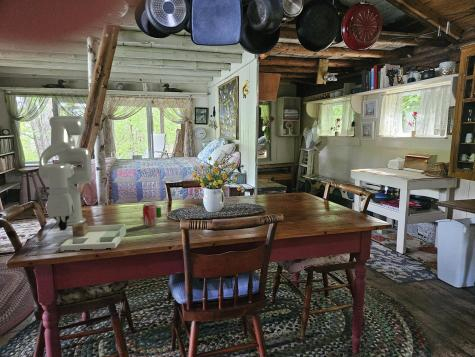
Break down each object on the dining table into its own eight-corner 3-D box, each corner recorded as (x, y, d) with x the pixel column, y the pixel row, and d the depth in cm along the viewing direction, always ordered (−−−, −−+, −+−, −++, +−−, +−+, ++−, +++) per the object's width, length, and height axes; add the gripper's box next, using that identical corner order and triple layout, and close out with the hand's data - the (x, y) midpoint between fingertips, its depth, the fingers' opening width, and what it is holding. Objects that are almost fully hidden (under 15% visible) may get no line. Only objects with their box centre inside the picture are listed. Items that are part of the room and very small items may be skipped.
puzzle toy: (158, 214, 188) (158, 205, 187) (161, 217, 183) (160, 207, 182) (149, 216, 185) (148, 206, 184) (151, 218, 180) (150, 208, 179)
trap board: (60, 251, 133) (59, 240, 132) (78, 236, 151) (77, 226, 150) (115, 248, 135) (114, 237, 134) (126, 233, 154) (125, 224, 153)
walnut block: (73, 236, 143) (72, 226, 142) (77, 233, 148) (76, 223, 147) (84, 236, 144) (83, 226, 143) (88, 232, 149) (87, 222, 148)
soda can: (145, 223, 170) (143, 202, 168) (158, 222, 171) (156, 202, 169) (142, 227, 163) (140, 205, 161) (155, 226, 164) (154, 205, 162)
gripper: (37, 193, 137) (42, 233, 139) (72, 192, 138) (76, 231, 141) (46, 190, 144) (50, 228, 147) (79, 189, 146) (82, 226, 148)
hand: (63, 229), depth 144 cm, fingers closed
